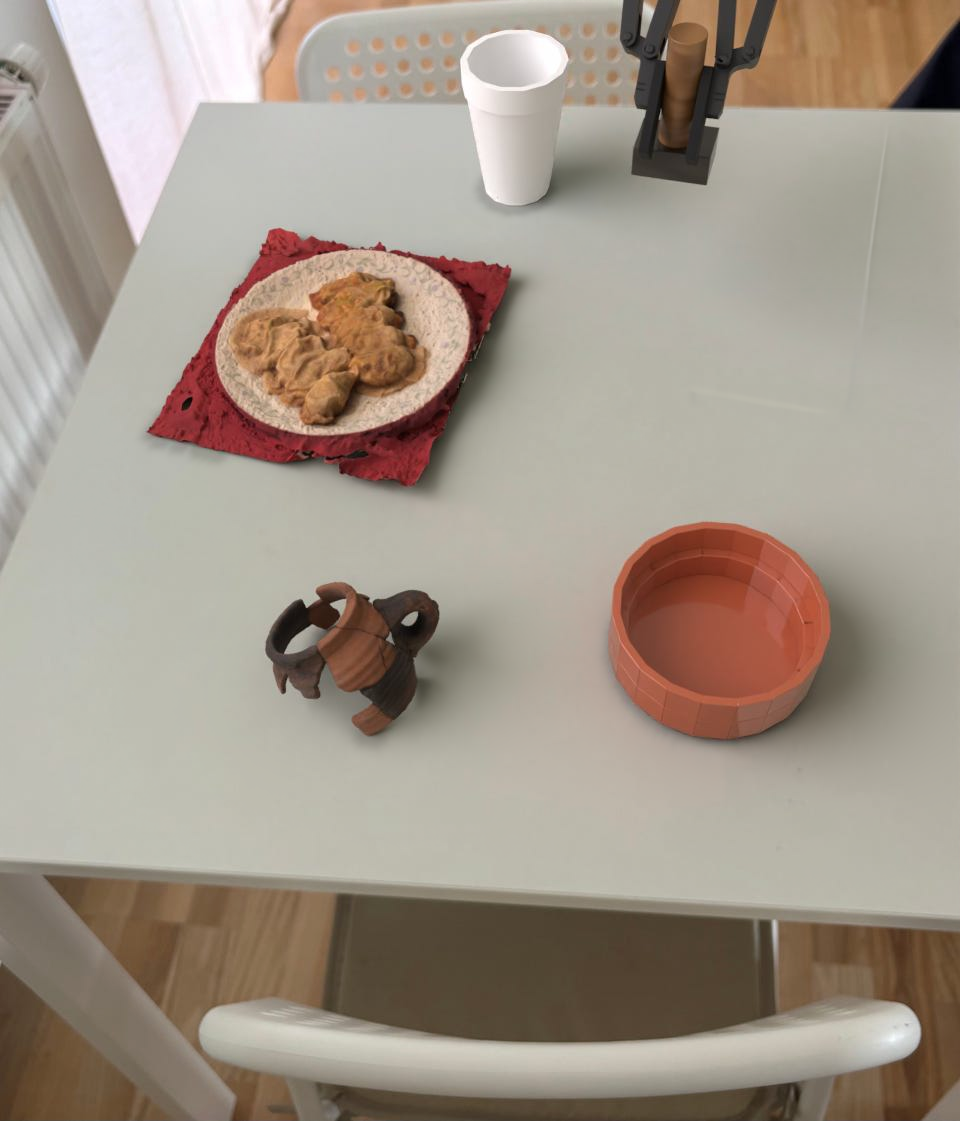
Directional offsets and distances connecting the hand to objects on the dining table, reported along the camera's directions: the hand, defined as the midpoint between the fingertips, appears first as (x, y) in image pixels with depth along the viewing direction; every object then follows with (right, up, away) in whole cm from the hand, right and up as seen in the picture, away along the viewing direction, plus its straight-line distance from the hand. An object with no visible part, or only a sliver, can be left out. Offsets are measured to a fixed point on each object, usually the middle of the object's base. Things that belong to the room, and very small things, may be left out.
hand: (667, 158), depth 83 cm
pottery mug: (-22, -38, -5) cm, 44 cm away
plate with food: (-26, -13, +12) cm, 32 cm away
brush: (+1, +1, +5) cm, 5 cm away
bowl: (+2, -37, -5) cm, 37 cm away
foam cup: (-11, +6, +24) cm, 27 cm away
